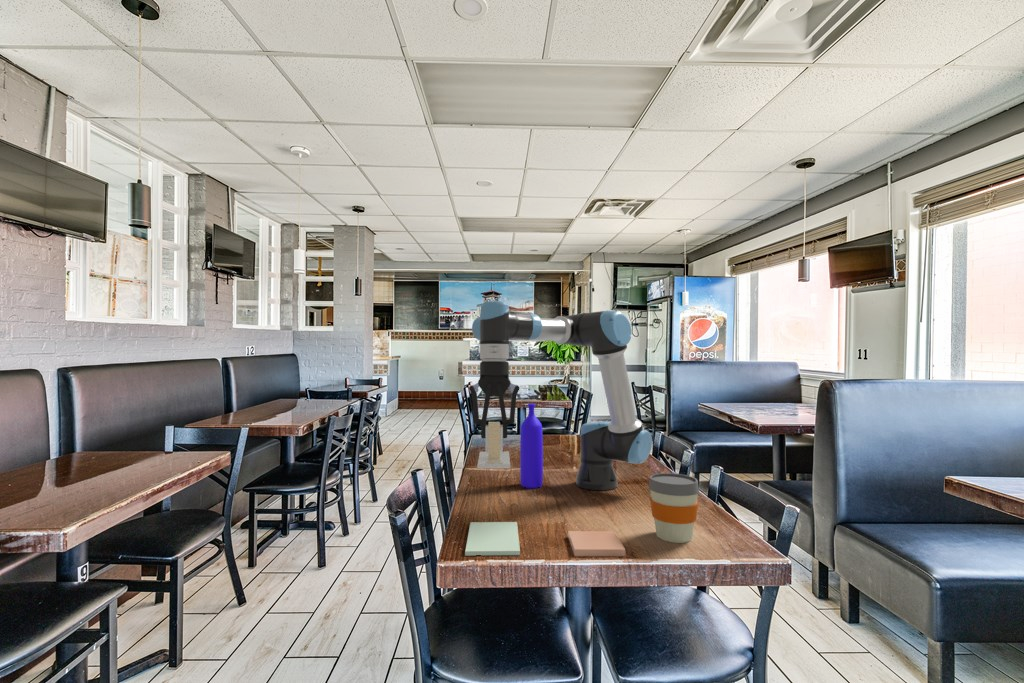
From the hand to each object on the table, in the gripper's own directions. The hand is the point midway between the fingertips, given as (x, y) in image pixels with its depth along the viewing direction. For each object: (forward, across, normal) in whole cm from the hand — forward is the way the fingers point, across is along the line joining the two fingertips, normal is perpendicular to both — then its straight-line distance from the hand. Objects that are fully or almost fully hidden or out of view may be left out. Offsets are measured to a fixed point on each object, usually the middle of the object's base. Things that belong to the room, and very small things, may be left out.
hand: (494, 450), depth 123 cm
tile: (+22, +25, +1) cm, 34 cm away
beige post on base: (+3, 0, 0) cm, 3 cm away
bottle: (+23, +13, +52) cm, 58 cm away
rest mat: (+23, 0, 0) cm, 23 cm away
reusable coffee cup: (+23, +47, +1) cm, 53 cm away
